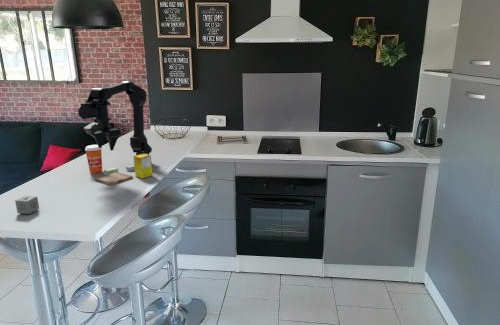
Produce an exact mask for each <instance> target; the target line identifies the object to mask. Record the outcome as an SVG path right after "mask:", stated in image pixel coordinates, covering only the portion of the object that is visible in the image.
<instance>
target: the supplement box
mask: <svg viewBox="0 0 500 325" xmlns="http://www.w3.org/2000/svg"><path fill="white" fill-rule="evenodd" d="M151 162H152V155H150V154H149V155H148V154H140V155H136V154H135V155H133V165H134V166H135V170H134V175H135V177H136V178H139V179H141V180H143V179H144V180H145V179H147V178H150V177H153V166H152V163H151Z"/></svg>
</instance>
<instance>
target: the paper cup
mask: <svg viewBox="0 0 500 325" xmlns="http://www.w3.org/2000/svg"><path fill="white" fill-rule="evenodd" d="M102 149H103V147H101V148H99V147H98V144H91V145H87V146H85V149H84V150H85V154H86V159H87V163H88V168H89V174H90V175H96V174H97V175H98V174H102V173H103V160H102V159H103V158H102Z"/></svg>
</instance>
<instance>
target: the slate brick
mask: <svg viewBox="0 0 500 325" xmlns="http://www.w3.org/2000/svg"><path fill="white" fill-rule="evenodd" d="M125 169H126V170H128V171H127V172H130V171H131V172H134V171H135V166H134V164H131V165H128V166H126V167H125ZM133 170H134V171H133Z"/></svg>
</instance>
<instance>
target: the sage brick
mask: <svg viewBox="0 0 500 325" xmlns="http://www.w3.org/2000/svg"><path fill="white" fill-rule="evenodd" d="M116 172H118V173H119V168H118V167H111V168H106V169H103V174H104V175H103V176H105V175H108V174H112V173H116Z"/></svg>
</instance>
